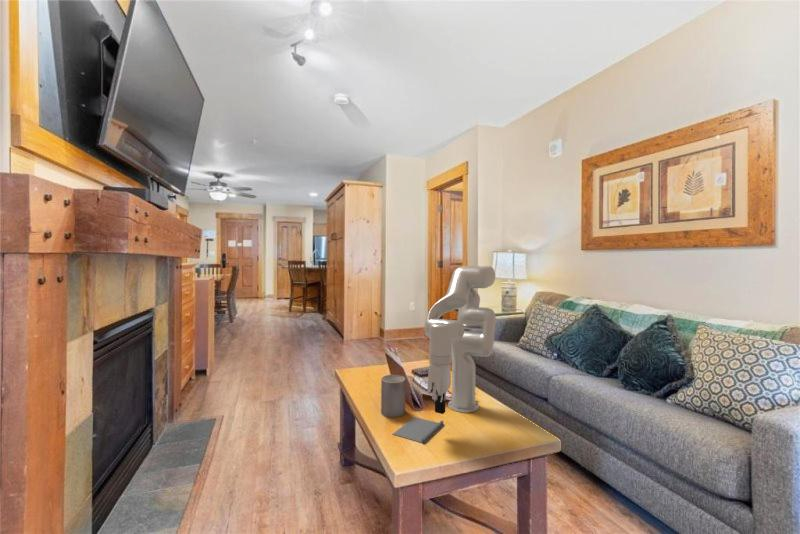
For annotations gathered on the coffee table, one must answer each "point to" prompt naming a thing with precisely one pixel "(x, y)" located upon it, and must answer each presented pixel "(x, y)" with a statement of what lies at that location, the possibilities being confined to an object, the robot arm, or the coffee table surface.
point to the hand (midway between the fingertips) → (440, 412)
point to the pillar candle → (393, 395)
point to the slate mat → (419, 430)
